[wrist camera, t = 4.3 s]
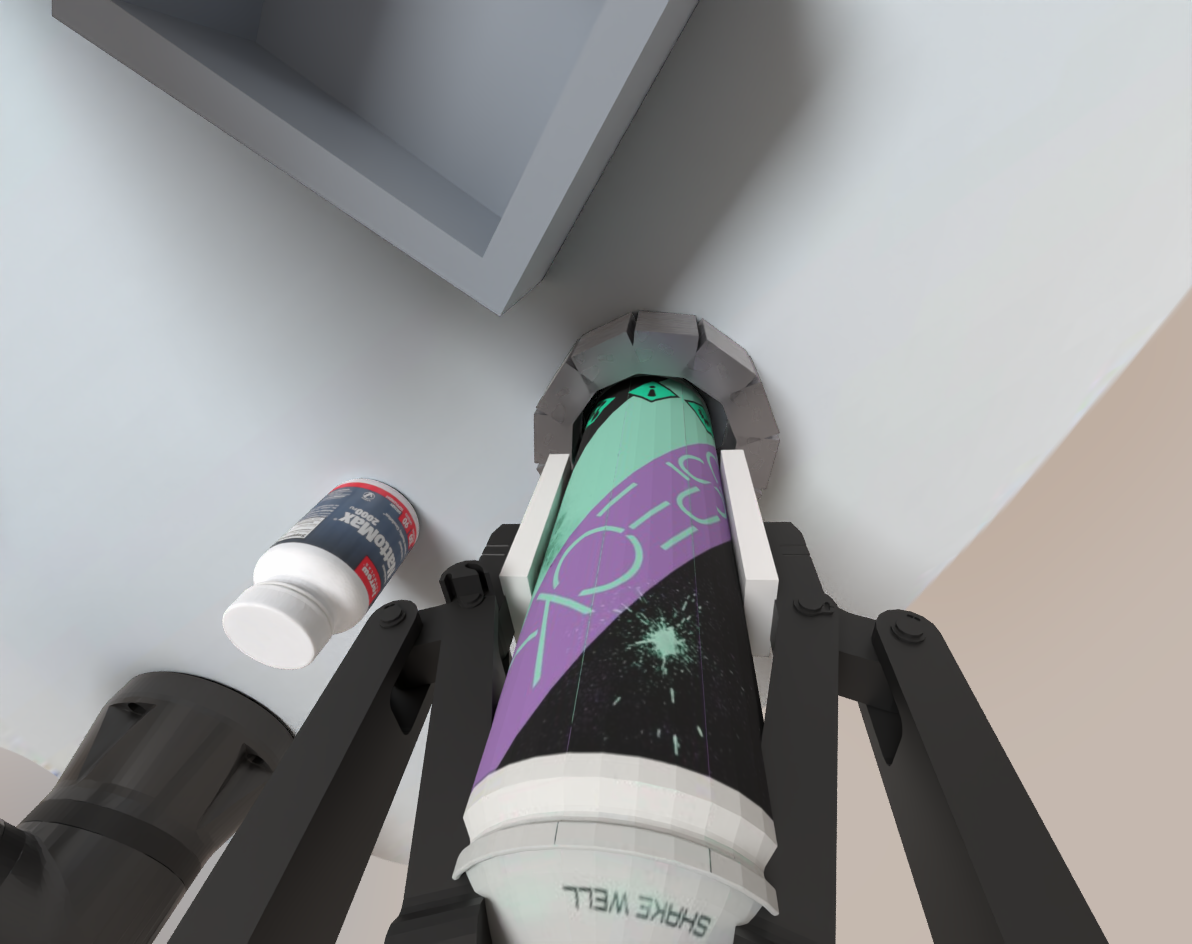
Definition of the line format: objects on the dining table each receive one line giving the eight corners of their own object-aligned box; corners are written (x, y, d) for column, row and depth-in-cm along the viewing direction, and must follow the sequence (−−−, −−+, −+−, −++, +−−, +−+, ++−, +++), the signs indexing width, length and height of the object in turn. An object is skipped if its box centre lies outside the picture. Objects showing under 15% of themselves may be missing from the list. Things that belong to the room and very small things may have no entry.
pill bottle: (439, 535, 28) (356, 667, 21) (373, 561, 30) (274, 691, 23) (380, 461, 26) (263, 579, 19) (312, 494, 28) (180, 613, 20)
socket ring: (595, 615, 30) (588, 656, 28) (451, 534, 28) (429, 571, 26) (812, 399, 22) (831, 430, 19) (627, 262, 20) (621, 276, 17)
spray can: (728, 454, 23) (910, 1287, 6) (621, 493, 25) (519, 1215, 8) (681, 348, 21) (752, 1199, 4) (567, 400, 22) (253, 1126, 5)
